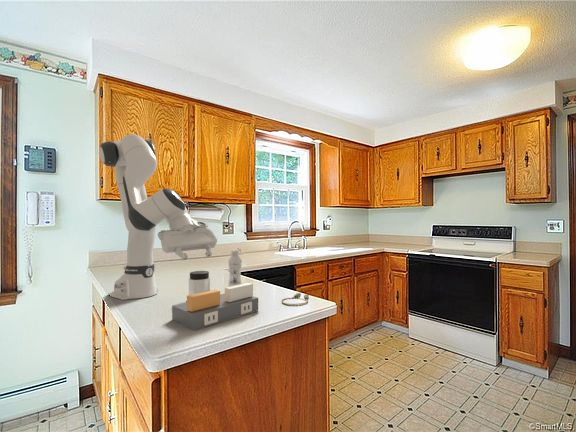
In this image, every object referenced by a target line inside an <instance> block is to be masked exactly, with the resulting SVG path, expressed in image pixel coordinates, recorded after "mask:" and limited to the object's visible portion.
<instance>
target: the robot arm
mask: <svg viewBox="0 0 576 432" xmlns="http://www.w3.org/2000/svg"><path fill="white" fill-rule="evenodd" d="M98 155H99V159H100V160H101V162H102V164H104V166H106V167H111V168H114V172H115V173H114V174H115V181H116V185H117V189H118V194H119V198H120V201H121V207H122V213H123V219H124V224H125V227H126V230H127V231H128V235H127V236H128V237H127V238H128V240H127V247H126V265H125V267H123V270H124V272H123V274H122V275H121V276H120V277H119V278H118V279H117V280H116V281H114V283H113V290H112V291H110V292H108V293H107V296H109V295H110V296H109V297H112V298H116V299H118V300H122V301H124V300H133V299H142V298H148V297H149V298H150V297H151V296H155V295H157V294H158V291H159V290H158V288H157V282H156V275H155V273H154V272H155V263H154V243H155V238H156V237H155V236H156V226H157V225H158V224H160V223H161V222H163V221H164V220H165V221H166V222H167V223H168V225H169V226H168V227H169V229H167V230H164V229H163V230H160V231H159V232H158V233H157V237H158V239H159V240H160V243H161V248H162V251H163V252H164V253H166V254H169V253H175V254H176V255H177V256H178V257H180V259H181V260H182V261H185V260H188V254H187V253H186V251H187V252H188V251H189V252H190V251H195V250H196V251H199V250H205V253H204V255H205V257H212V251H211V249H213V248H215V246H216V245H217V243H218V239H217V237H216V235H215V234H214V231H212V229H210V227H209V225H208V223H207V222H205V221H200V220H197V219H193V218H192V217H191V216H190V215H189V210H188V209H187V207H186V204H185V202H184V200H183V197H181V195H180V194H179V193H178V192H177V191H176V190H174V189H170V188H165V187H163V188H162V189H160V190H158V191H157V192H155V193H153V194H151V195H150V196H149V197H148V194H147V190H146V186H145V183H146V182H147V181H148V180H149V179H150V178H151V177H152V176H153V175H154V173H155V172H156V170H157V169H158V161H157V157H156V148H155V145H154V143H153V142H151V141H150V140H148V139H144V138H143V137H142V136H141V135H138V134H136V133H131V134H129V133H128V134H126V135H125V136H123V137H122V139H121V140H120V139H119V140H114V141H111V140H110V141H108V140H107V141H105V142H102V143H101V144H100V145H99V148H98Z"/></svg>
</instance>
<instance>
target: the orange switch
mask: <svg viewBox="0 0 576 432" xmlns="http://www.w3.org/2000/svg"><path fill="white" fill-rule="evenodd" d="M220 295H221V290H218V289H213V290H210V291H207V292H202V293H197V294H192V295H189V294H187V295H186V302H187V310H189V311H191V312H193V311H197V310H200V309H204V308H208V307H212V306H216V305H220Z"/></svg>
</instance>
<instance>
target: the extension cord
mask: <svg viewBox="0 0 576 432" xmlns="http://www.w3.org/2000/svg"><path fill="white" fill-rule="evenodd" d="M301 295H302V294H301V292H297V293H295V294H294V295H293V296H292V297H286V298H285V297H284V298H283V299H282V300H281V304H283V305H285V306H289V307H295V306H296V307H298V306H304V305H307V304H309V301H308V299H309V294H307V293H306V294H304V295H303V298H300V297H301ZM288 299H289V300H290V299H292V300H293V299H295V300H302V301H305V302H301V303H286V302H284V301H285V300H288Z"/></svg>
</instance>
